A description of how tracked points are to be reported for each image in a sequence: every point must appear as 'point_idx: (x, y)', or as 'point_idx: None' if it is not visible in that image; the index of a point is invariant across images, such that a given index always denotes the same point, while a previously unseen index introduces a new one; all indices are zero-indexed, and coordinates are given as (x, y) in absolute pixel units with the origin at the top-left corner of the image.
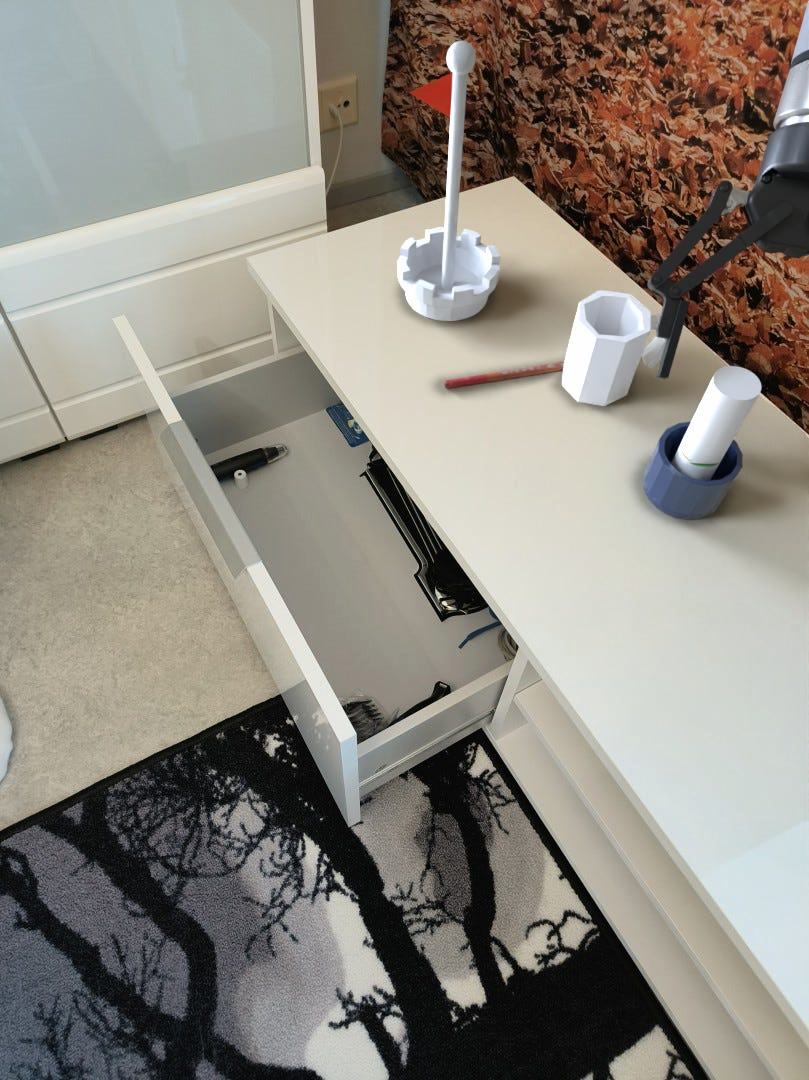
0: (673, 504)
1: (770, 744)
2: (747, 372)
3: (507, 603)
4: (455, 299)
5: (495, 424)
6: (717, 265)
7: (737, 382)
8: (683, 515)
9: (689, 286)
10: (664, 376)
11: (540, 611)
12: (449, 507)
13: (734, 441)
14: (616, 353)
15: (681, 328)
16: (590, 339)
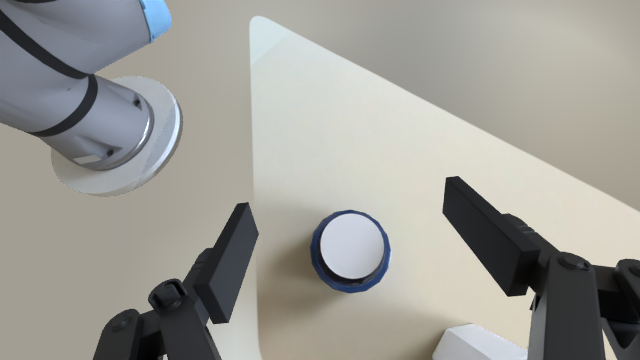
0: None
1: (266, 93)
2: (342, 270)
3: (431, 106)
4: None
5: None
6: (557, 343)
7: (351, 244)
8: None
9: (558, 279)
10: (452, 177)
11: (409, 110)
12: (511, 156)
13: (322, 277)
14: (491, 353)
15: (489, 216)
16: None
